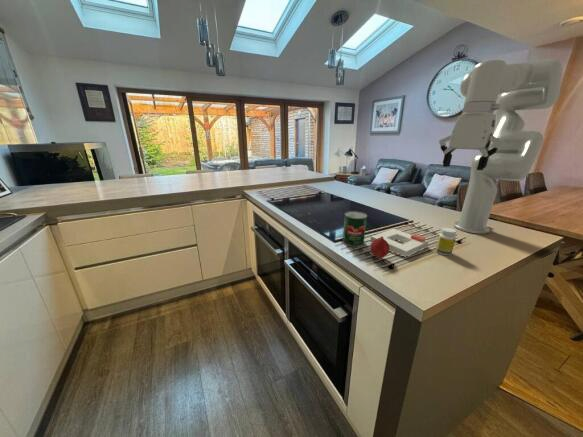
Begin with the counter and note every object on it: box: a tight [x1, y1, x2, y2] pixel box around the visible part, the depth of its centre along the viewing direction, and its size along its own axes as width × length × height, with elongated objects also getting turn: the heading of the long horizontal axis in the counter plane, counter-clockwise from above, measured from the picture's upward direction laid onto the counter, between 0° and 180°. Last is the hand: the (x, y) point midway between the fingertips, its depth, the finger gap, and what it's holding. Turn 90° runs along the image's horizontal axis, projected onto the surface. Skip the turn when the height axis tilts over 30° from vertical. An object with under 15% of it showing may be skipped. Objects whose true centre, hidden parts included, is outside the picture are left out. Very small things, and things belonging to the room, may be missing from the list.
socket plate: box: [369, 228, 430, 256], centre depth 86 cm, size 14×14×4 cm
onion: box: [370, 236, 390, 260], centre depth 76 cm, size 6×6×8 cm
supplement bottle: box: [435, 227, 457, 256], centre depth 80 cm, size 5×5×8 cm
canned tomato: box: [342, 210, 368, 247], centre depth 87 cm, size 8×8×11 cm
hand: (462, 168), depth 75 cm, fingers open, 9 cm apart
